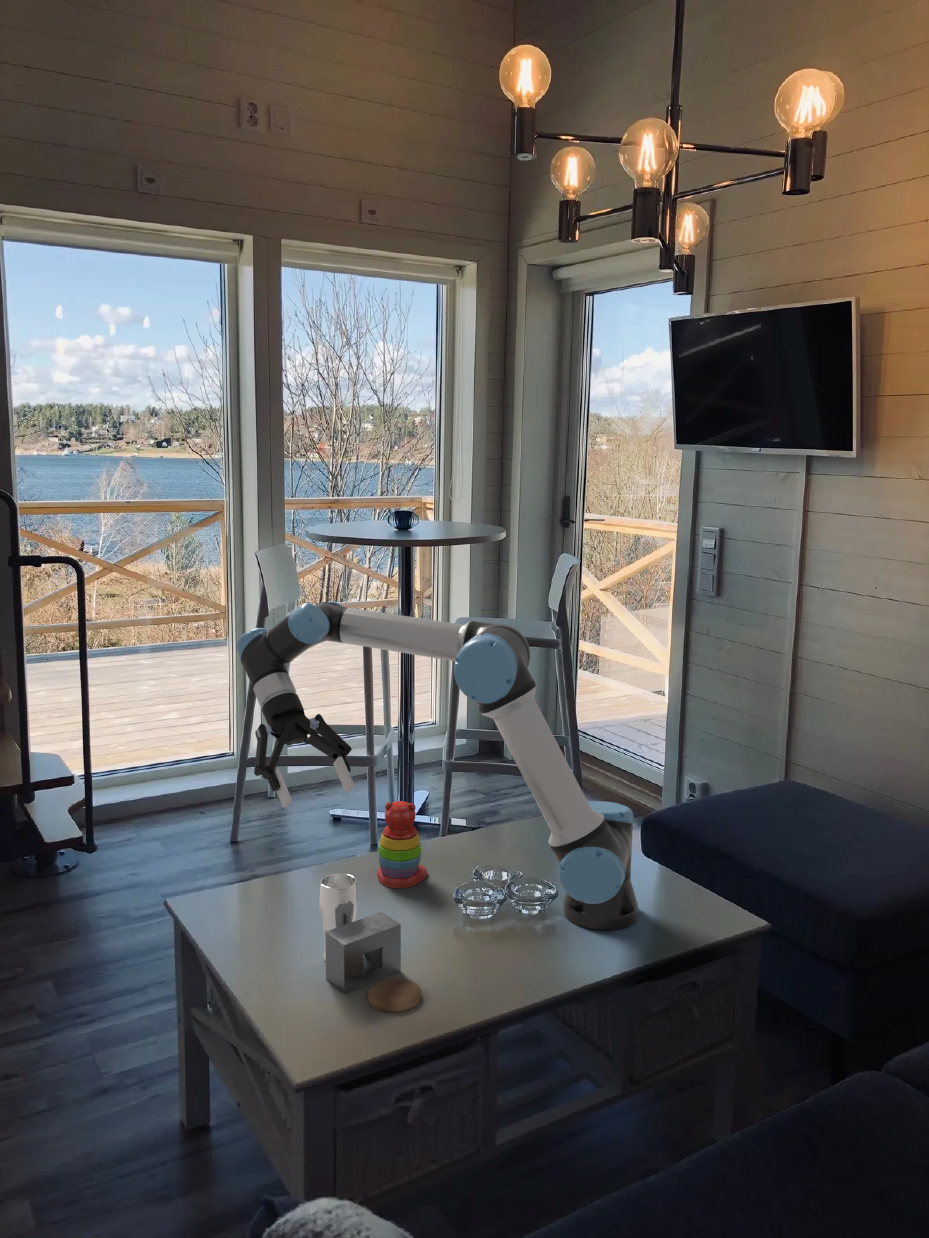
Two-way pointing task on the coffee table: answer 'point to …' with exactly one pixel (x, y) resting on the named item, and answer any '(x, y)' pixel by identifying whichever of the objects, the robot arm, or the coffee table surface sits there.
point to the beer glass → (337, 901)
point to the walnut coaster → (394, 995)
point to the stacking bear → (400, 848)
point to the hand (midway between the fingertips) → (319, 796)
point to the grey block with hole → (363, 951)
